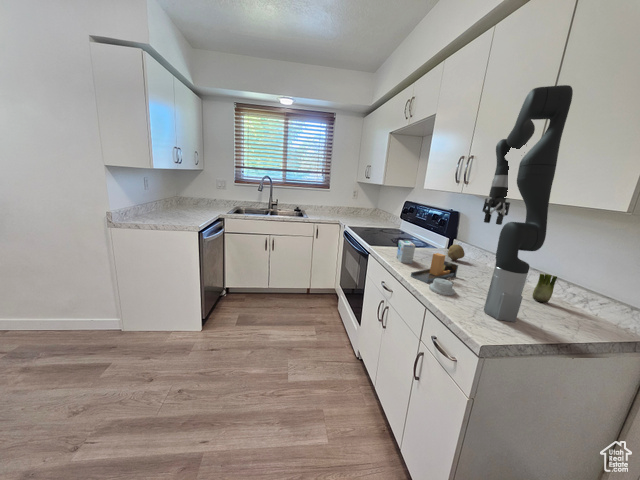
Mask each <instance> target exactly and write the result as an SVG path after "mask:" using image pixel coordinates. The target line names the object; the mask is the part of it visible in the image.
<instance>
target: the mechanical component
mask: <svg viewBox="0 0 640 480" xmlns="http://www.w3.org/2000/svg"><path fill="white" fill-rule="evenodd" d="M453 286H454V283H453V282H452V281H450V280H447V279H440V278H439V279H438V278H437V279H436V278H435V279H434V281H433V282H431V283H429V286H428V289H429V290H430V291H431V292H434V293H436V294H439V295H443V296H454V295H455V293H456V290H455V288H453Z"/></svg>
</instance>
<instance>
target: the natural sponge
mask: <svg viewBox="0 0 640 480" xmlns="http://www.w3.org/2000/svg"><path fill="white" fill-rule="evenodd" d="M447 257H448V258H450V259H451V260H452V261H457V260H460V259H462V258H464V257H465V250H464V247H462V246H461V245H460V244H452V245H450V246H449V247H448V251H447Z"/></svg>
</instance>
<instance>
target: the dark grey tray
mask: <svg viewBox="0 0 640 480" xmlns="http://www.w3.org/2000/svg"><path fill="white" fill-rule="evenodd" d="M429 272H430V268H426V269H422V270H421V269H420V270H416V271H413V272H410V277H412V278H414V279H416V280H417V281H421V282H423V283H425V284H431V283H433V281H434V279H435V278H436V279H437V278H438V279H439V278H440V279H445V280H447V279H450V278H453V277H454V274H455V273H450V274H445V275H439V276H435V275H433V274H430V273H429ZM454 278H455V277H454Z"/></svg>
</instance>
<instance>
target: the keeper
mask: <svg viewBox="0 0 640 480" xmlns="http://www.w3.org/2000/svg"><path fill="white" fill-rule="evenodd" d="M458 269H459V264H456V263H452V262H450V261H446V260H445V261H444V265H443V270H442V272H443V271H446V270H450V273H455V274H454V278H455V277H457V273H458Z"/></svg>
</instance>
